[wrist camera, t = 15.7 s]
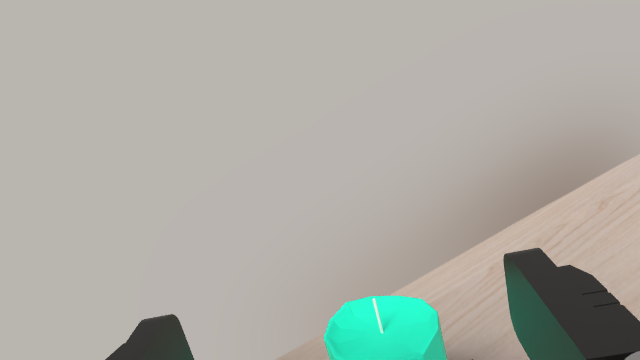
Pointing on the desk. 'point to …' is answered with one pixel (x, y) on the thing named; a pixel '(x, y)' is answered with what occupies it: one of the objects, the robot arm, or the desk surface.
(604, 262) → the desk surface
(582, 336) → the robot arm
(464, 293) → the desk surface
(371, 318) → the candle
